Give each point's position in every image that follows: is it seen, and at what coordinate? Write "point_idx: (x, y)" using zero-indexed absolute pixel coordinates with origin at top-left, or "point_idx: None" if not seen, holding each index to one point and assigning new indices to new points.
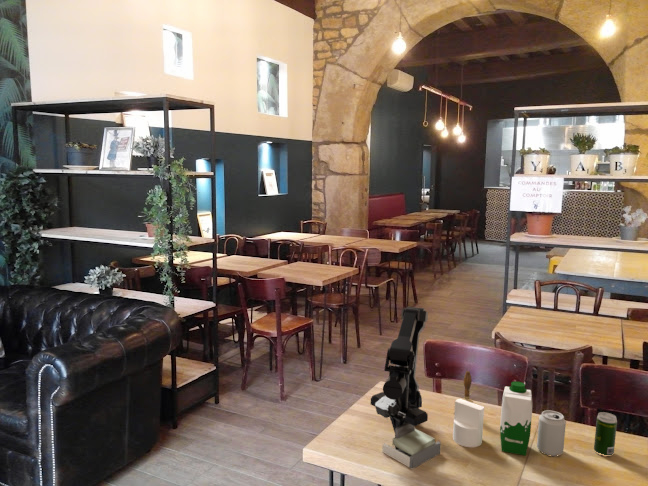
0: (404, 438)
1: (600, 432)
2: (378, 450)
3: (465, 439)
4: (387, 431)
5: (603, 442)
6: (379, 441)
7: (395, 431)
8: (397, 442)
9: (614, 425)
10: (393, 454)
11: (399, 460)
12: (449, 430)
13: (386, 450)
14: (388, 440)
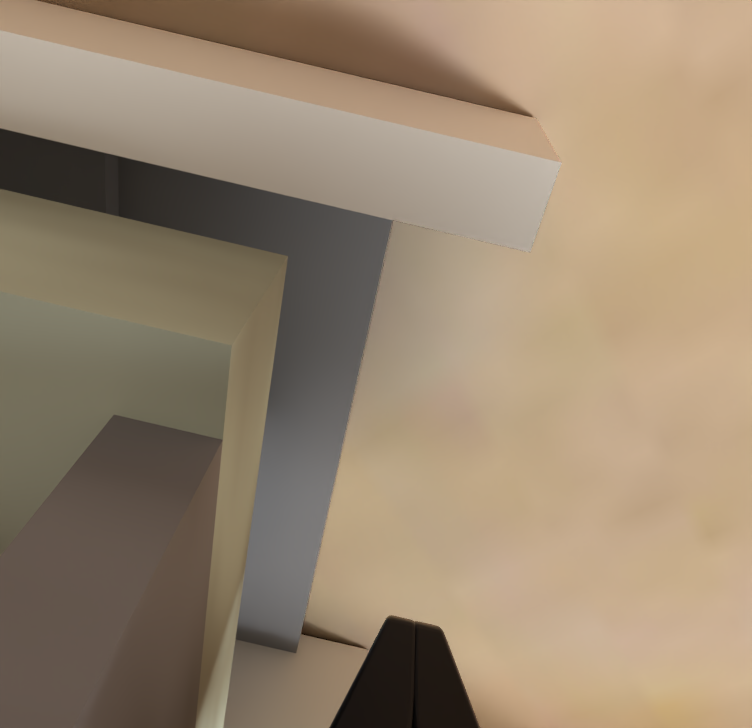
0: (3, 524)
1: None
2: (642, 126)
3: None
4: (711, 685)
5: None
6: (741, 423)
7: (104, 623)
8: (35, 274)
9: None
10: (184, 49)
11: (32, 6)
12: None
13: (413, 105)
14: (602, 517)
